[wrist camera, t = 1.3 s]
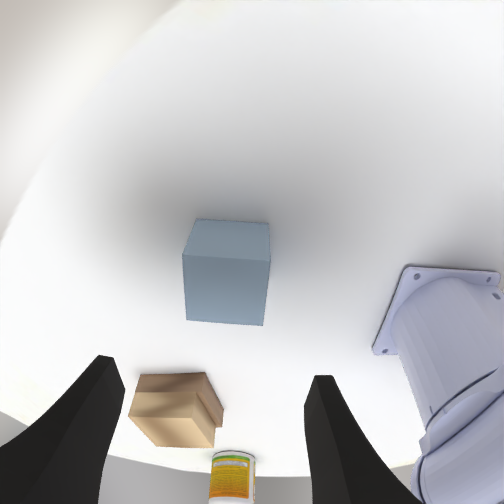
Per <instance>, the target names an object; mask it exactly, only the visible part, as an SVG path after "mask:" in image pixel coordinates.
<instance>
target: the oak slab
mask: <svg viewBox="0 0 504 504" xmlns="http://www.w3.org/2000/svg"><path fill="white" fill-rule="evenodd" d="M128 417H129V418H130V419H131V420H132V421H133V422H134V423H135V425H136V426H137V427H138V428H139V429H140V430H141V431H142V432H143V433H144V434H145V435H146V436H147V437H148V438H149V439H150V440H151V441H152V442H153V443H154V444H155V445H156V446H160V447H180V448H214V439H215V429H216V424H215V422H214V421H213V419H212V417H211V416H210V414H209V413H208V411H207V409H206V408H205V406H204V404H203V403H202V401H201V399H200V398H199V396H198V394H197V393H196V392H155V393H152V392H135V395H134V398H133V401H132V404H131V408H130V411H129V414H128Z"/></svg>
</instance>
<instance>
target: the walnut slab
mask: <svg viewBox="0 0 504 504" xmlns="http://www.w3.org/2000/svg"><path fill="white" fill-rule="evenodd" d="M135 392H152V393H155V392H196V393H197V394H198V396H199V398H200V399H201V401H202V403H203V404H204V406H205V408H206V409H207V411H208V413H209V414H210V416H211V417H212V419H213V421H214V422H215V424H216V427H222V422H223V412H224V409H223V407H222V405H221V403H220V401H219V399H218V397H217V396H216V394H215V392H214V390H213V388H212V386H211V384H210V382H209V380H208V378H207V376H206V374H205V372H200V373H181V374H149V375H140V378H139V381H138V384H137V387H136V391H135Z"/></svg>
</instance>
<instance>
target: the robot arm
mask: <svg viewBox="0 0 504 504" xmlns="http://www.w3.org/2000/svg"><path fill="white" fill-rule="evenodd" d="M417 273H418V275H417V276H415V274H417ZM500 279H501V275H500V274H499V273H498V272H487V271H471V270H455V269H438V268H422V267H408V268H406V269H405V270H404V272H403V274H402V277H401V279H400V282H399V285H398V288H397V290H396V293H395V295H394V298H393V301H392V303H391V306H390V308H389V311H388V313H387V316H386V318H385V321H384V323H383V325H382V328H381V330H380V332H379V335H378V337H377V339H376V342H375V344H374V346H373V348H372V351H373V354H374V355H395V354H398V355H399V357H400V360H401V362H402V365H403V368H404V370H405V373H406V376H407V378H408V381H409V384H410V387H411V389H412V392H413V395H414V398H415V401H416V403H417V406H418V409H419V412H420V415H421V418H422V421H423V424H424V427H425V430H426V434H425V435H424V436H423V437H422V438H421V439H420V440H419V444H420V447H421V451H422V455H421V456H420V457H419V458H418V460H417V461H416V463H415V465H414V468H413V470H412V474H411V492H410V491H409V490H408V489H407V488H406V487H405V486H404V485H403V484H402V483H401V482H400V481H399V480H398V478H397V477H396V476H395V475H394V474H393V473H392V472H391V470H390V469H389V468H388V467H387V466H386V464H385V463H384V462H383V461H382V459H381V458H380V457H379V455H378V454H377V453H376V451H375V450H374V448H373V447H372V445H371V444H370V442H369V441H368V439H367V438H366V436H365V435H364V433H363V432H362V430H361V428H360V427H359V425H358V423H357V422H356V420H355V418H354V417H353V415H352V413H351V411H350V409H349V407H348V406H347V404H346V402H345V400H344V398H343V396H342V394H341V392H340V390H339V388H338V386H337V384H336V382H335V379H334V377H333V376H332V375H315V376H314V379H313V382H312V385H311V388H310V390H309V393H308V396H307V399H306V402H305V404H304V427H305V437H306V444H307V451H308V458H309V465H310V472H311V479H312V494H313V504H504V294H503V293H502V292H501V290H500V289H499V288H498V287H497V286H498V284H499V281H500ZM124 394H125V387H124V385H123V382H122V380H121V377H120V374H119V372H118V369H117V366H116V364H115V361H114V358H113V357H108V356H102V355H98V356H97V357H96V358H95V359H94V360H93V362H92V363H91V364H90V365H89V366H88V367H87V368H86V370H85V371H84V372H83V373H82V374H81V375H80V376H79V378H78V379H77V380H76V381H75V382H74V383H73V384H72V385H71V386H70V388H69V389H68V390H67V391H66V392H65V393H64V394H63V395H62V396H61V397H60V398H59V399H58V400H57V401H56V402H55V403H54V404H53V405H52V406H51V407H50V408H49V409H48V410H47V411H46V412H45V413H44V414H43V415H42V416H41V417H40V418H39V419H38V420H36V421H35V422H34V423H33V424H32V425H31V426H29V427H28V428H27V429H26V430H24V431H23V432H22V433H20V434H19V435H18V436H16V437H15V438H14V439H12V440H11V441H10V442H8V443H6V444H4V445H3V446H1V447H0V504H98V498H99V490H100V483H101V477H102V471H103V466H104V463H105V459H106V456H107V452H108V449H109V446H110V443H111V440H112V437H113V434H114V431H115V428H116V425H117V422H118V419H119V416H120V413H121V408H122V404H123V399H124Z"/></svg>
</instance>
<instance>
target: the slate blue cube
mask: <svg viewBox="0 0 504 504" xmlns="http://www.w3.org/2000/svg"><path fill="white" fill-rule="evenodd" d="M182 259H183V277H184V292H185V306H186V319H187V320H191V321H202V322H214V323H227V324H241V325H257V326H263V320H264V312H265V304H266V296H267V288H268V279H269V271H270V262H271V258H270V242H269V227H268V224H267V223H253V222H239V221H224V220H208V219H196V222H195V224H194V227H193V229H192V232H191V234H190V236H189V239H188V241H187V244H186V246H185V249H184V252H183V254H182Z"/></svg>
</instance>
